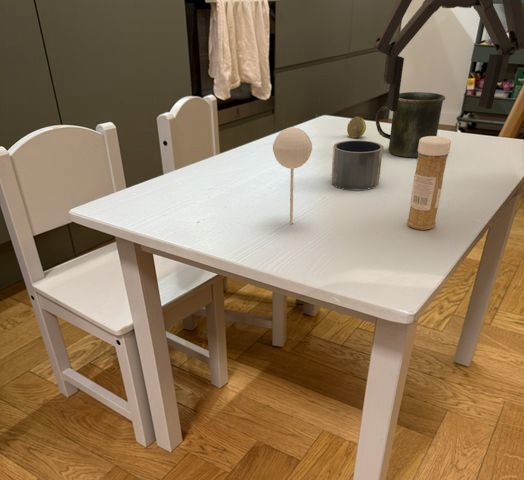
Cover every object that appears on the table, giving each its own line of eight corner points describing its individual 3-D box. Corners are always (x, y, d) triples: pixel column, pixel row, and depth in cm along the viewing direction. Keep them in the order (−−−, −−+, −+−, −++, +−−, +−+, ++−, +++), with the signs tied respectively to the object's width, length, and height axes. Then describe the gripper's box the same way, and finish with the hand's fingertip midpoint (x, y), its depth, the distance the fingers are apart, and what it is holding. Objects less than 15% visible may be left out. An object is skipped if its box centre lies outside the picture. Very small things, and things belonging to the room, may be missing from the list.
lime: (364, 139, 128) (366, 118, 125) (345, 138, 129) (347, 118, 126) (365, 135, 132) (367, 115, 129) (347, 134, 133) (348, 114, 130)
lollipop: (287, 233, 80) (288, 134, 71) (265, 222, 84) (264, 127, 75) (316, 224, 83) (321, 128, 74) (294, 214, 87) (296, 121, 78)
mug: (436, 159, 112) (447, 101, 105) (371, 157, 115) (377, 99, 108) (434, 147, 121) (444, 92, 114) (373, 145, 124) (378, 91, 116)
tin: (372, 174, 104) (376, 139, 100) (384, 189, 97) (388, 151, 93) (327, 176, 104) (329, 141, 100) (335, 191, 96) (338, 153, 92)
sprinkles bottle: (440, 226, 81) (458, 139, 73) (420, 232, 79) (436, 144, 71) (419, 218, 84) (434, 133, 77) (400, 223, 83) (413, 137, 75)
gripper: (558, -84, 63) (511, 101, 75) (362, -83, 62) (347, 105, 74) (594, -92, 57) (536, 111, 69) (377, -91, 56) (358, 115, 68)
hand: (438, 108), depth 72 cm, fingers open, 13 cm apart
